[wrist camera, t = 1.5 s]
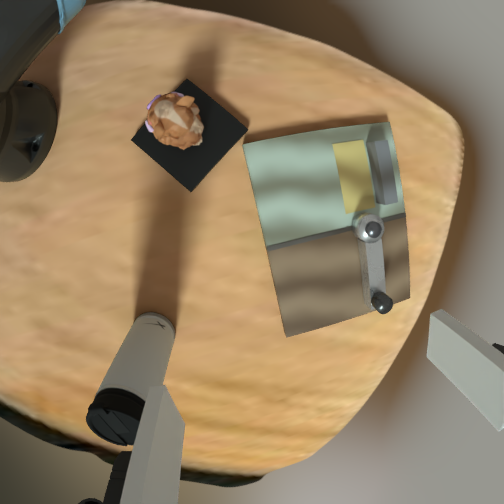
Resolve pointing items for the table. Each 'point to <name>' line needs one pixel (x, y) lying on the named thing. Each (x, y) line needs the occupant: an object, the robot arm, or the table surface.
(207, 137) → the figurine
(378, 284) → the bar
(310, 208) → the door board
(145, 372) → the travel mug
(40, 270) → the table surface
